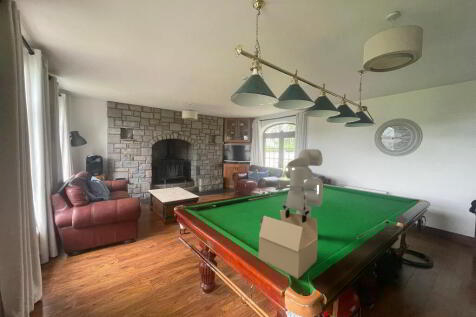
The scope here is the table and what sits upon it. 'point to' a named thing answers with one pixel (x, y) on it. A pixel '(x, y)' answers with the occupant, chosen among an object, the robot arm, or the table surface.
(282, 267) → the carton
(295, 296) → the table surface
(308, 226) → the rear flap
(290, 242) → the front flap
